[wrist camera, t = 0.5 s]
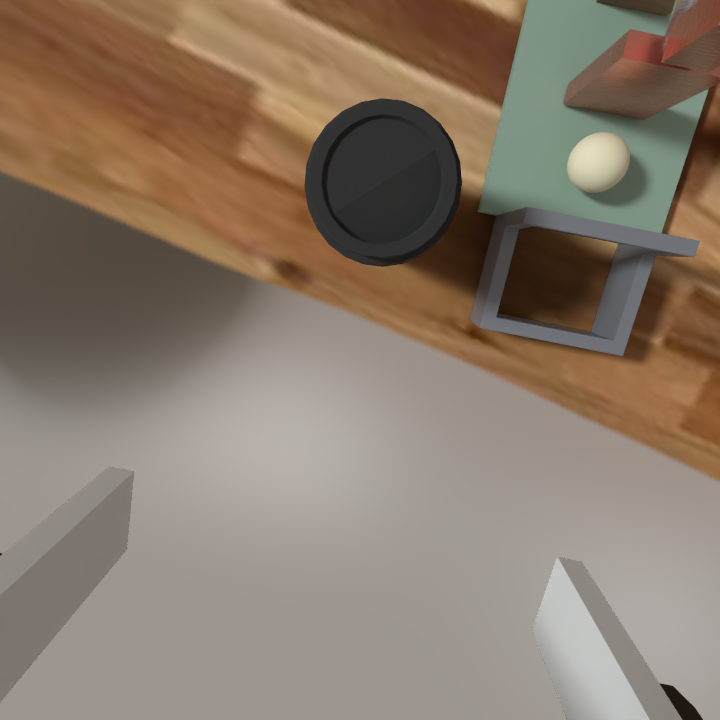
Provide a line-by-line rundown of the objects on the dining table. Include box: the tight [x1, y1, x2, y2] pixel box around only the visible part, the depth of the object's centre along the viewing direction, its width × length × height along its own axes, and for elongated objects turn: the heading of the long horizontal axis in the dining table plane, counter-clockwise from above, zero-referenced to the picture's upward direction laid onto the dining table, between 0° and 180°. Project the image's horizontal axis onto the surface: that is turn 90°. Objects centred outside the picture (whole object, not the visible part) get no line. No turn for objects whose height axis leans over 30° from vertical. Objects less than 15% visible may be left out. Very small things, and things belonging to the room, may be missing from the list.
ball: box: [567, 132, 630, 193], centre depth 34 cm, size 4×4×4 cm
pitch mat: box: [477, 0, 709, 233], centre depth 35 cm, size 20×14×1 cm
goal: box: [470, 207, 700, 356], centre depth 35 cm, size 8×11×8 cm
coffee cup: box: [305, 99, 462, 267], centre depth 31 cm, size 8×8×15 cm
